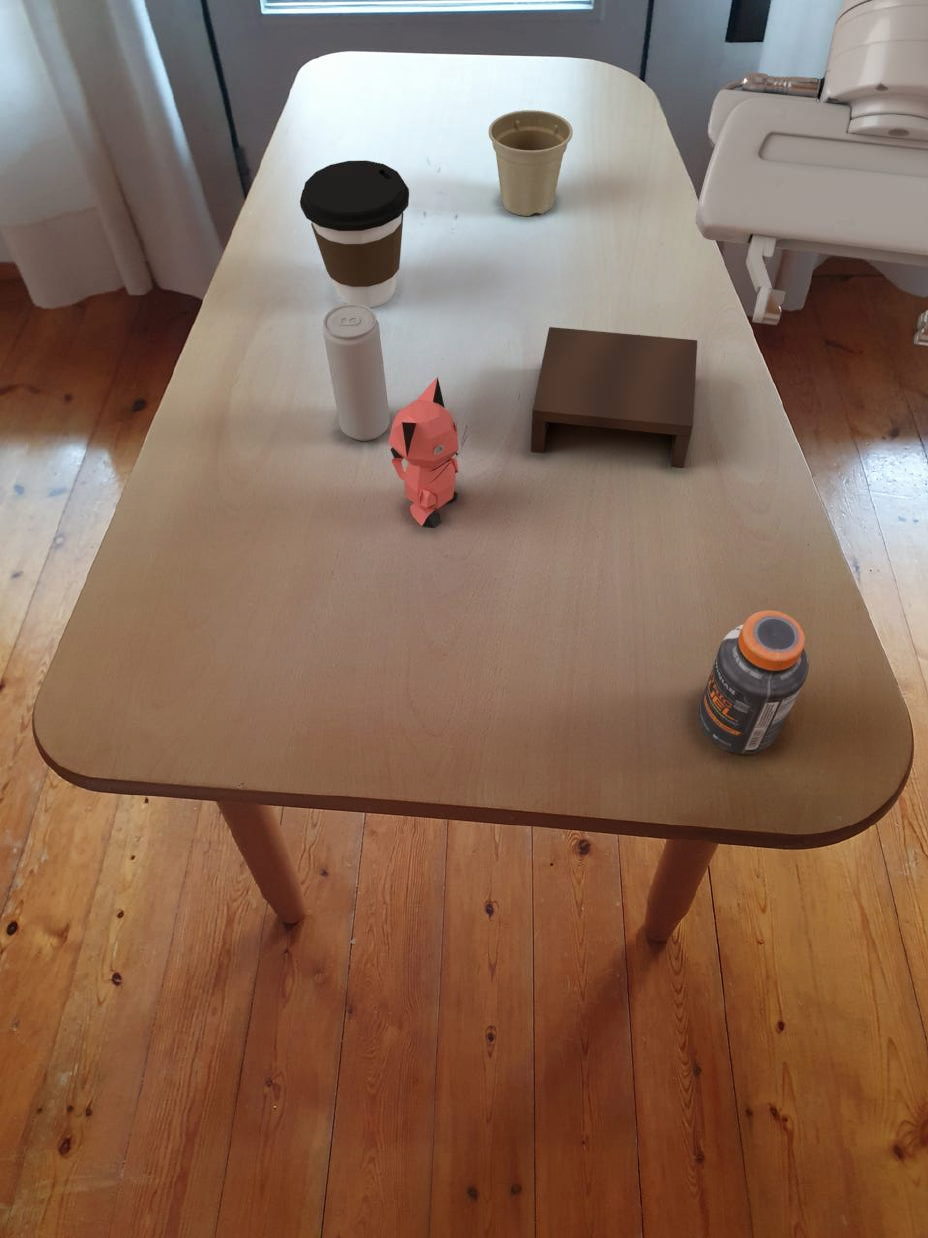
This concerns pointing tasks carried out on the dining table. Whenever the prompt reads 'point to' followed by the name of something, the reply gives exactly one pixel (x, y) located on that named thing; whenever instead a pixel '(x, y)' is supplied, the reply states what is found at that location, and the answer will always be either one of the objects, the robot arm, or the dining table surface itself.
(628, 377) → the shelf
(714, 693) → the pill bottle
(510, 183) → the flower pot
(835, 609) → the dining table surface
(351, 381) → the beverage can
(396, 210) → the coffee cup
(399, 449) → the cat figurine
